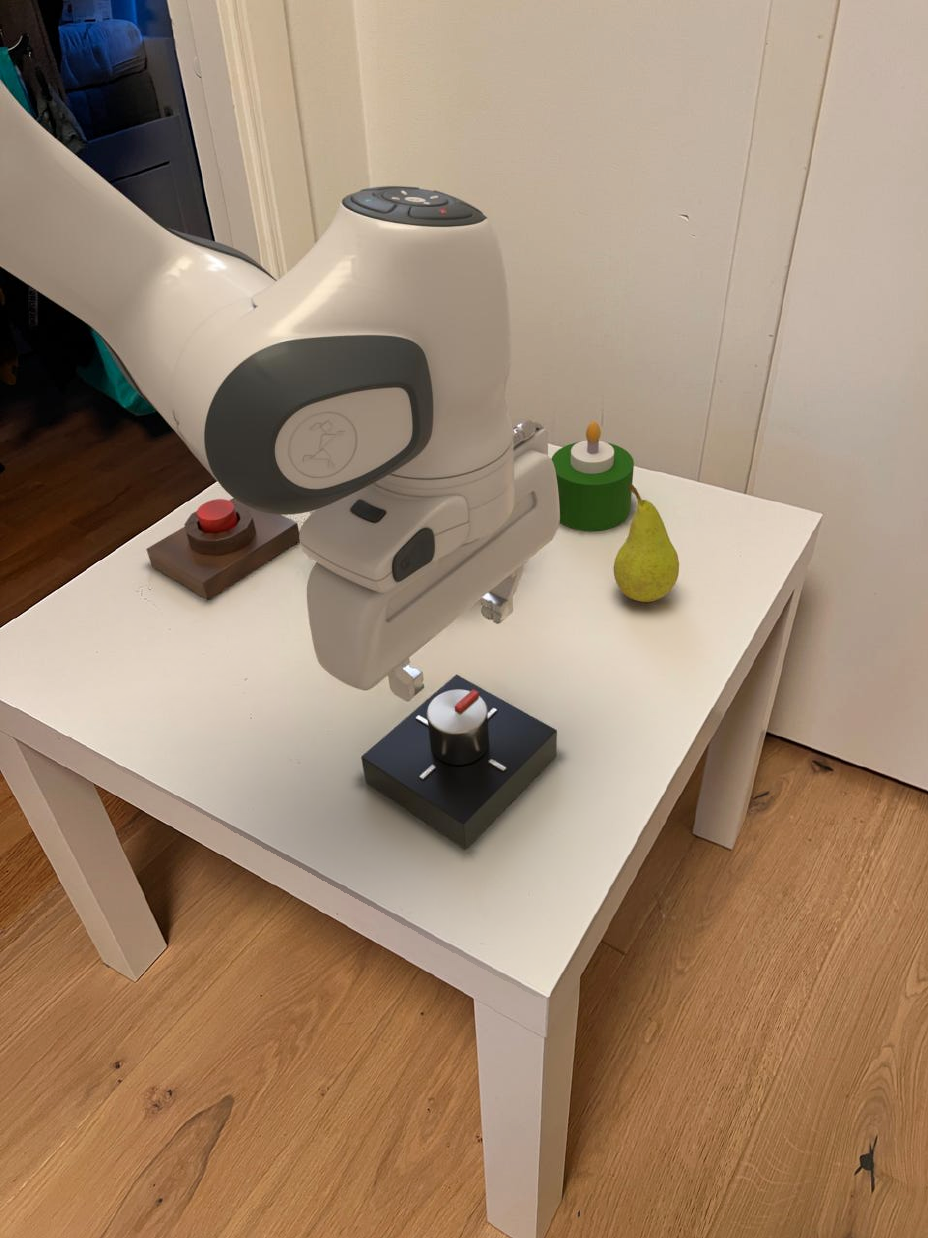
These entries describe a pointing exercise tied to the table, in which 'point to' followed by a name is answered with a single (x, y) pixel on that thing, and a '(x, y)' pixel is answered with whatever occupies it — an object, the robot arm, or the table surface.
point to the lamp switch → (222, 550)
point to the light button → (217, 516)
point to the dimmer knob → (458, 726)
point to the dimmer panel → (460, 767)
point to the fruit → (646, 556)
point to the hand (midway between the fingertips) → (454, 652)
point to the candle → (593, 483)
